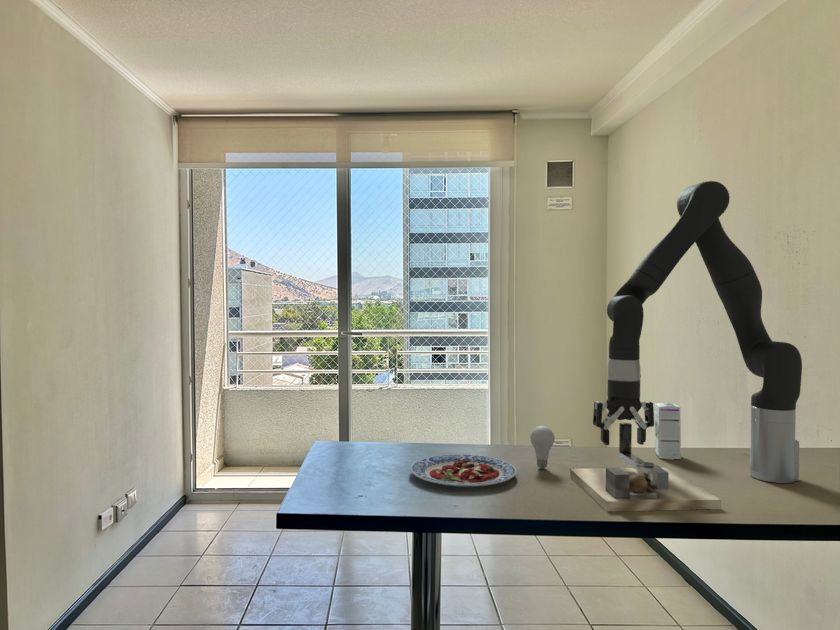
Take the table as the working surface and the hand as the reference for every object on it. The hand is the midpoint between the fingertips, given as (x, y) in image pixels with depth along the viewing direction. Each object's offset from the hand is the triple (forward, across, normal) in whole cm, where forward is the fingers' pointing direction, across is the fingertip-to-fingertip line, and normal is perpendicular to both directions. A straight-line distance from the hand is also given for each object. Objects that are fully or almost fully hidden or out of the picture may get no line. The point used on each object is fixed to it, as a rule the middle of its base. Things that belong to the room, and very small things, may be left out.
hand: (623, 444), depth 137 cm
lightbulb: (+8, +18, -8) cm, 21 cm away
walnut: (+6, +4, +18) cm, 19 cm away
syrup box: (+8, -20, -18) cm, 28 cm away
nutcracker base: (+8, +1, +10) cm, 13 cm away
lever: (+5, 0, +9) cm, 10 cm away
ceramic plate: (+9, +39, -3) cm, 40 cm away
